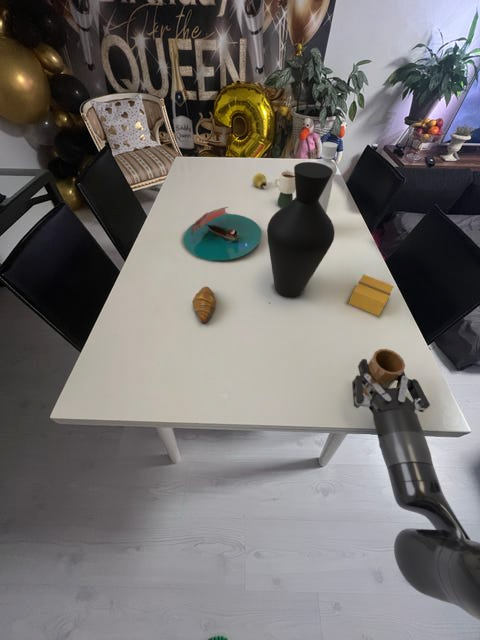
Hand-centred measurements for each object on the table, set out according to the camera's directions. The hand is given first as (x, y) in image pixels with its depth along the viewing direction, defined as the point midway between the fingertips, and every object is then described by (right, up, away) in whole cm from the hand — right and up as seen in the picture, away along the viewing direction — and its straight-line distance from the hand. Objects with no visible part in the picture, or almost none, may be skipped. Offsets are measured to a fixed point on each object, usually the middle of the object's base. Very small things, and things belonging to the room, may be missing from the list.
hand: (378, 362), depth 64 cm
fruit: (-20, +70, +73) cm, 103 cm away
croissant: (-40, +13, +21) cm, 47 cm away
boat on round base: (-36, +39, +44) cm, 69 cm away
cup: (0, -6, +3) cm, 6 cm away
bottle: (-3, +42, +49) cm, 65 cm away
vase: (-15, +19, +27) cm, 36 cm away
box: (+8, +15, +25) cm, 30 cm away
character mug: (-11, +57, +62) cm, 85 cm away
